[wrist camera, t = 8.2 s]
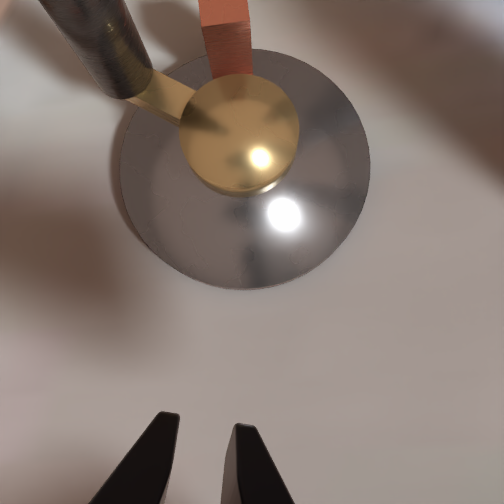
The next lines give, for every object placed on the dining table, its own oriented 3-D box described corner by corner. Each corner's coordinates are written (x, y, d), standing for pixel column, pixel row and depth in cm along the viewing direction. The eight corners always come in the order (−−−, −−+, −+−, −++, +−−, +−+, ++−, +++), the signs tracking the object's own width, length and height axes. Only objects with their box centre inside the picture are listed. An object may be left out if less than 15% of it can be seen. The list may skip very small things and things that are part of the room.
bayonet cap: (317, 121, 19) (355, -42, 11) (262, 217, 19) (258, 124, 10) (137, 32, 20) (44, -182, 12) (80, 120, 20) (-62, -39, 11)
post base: (384, 273, 22) (419, 257, 17) (135, 304, 22) (96, 297, 17) (344, 37, 24) (363, -39, 19) (117, 67, 24) (77, -1, 19)
